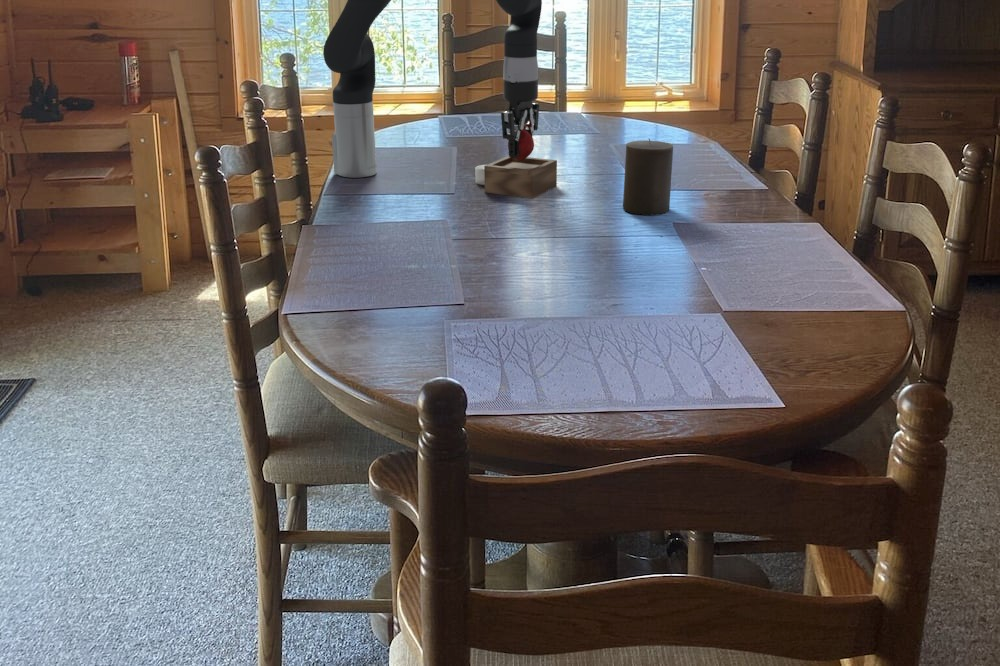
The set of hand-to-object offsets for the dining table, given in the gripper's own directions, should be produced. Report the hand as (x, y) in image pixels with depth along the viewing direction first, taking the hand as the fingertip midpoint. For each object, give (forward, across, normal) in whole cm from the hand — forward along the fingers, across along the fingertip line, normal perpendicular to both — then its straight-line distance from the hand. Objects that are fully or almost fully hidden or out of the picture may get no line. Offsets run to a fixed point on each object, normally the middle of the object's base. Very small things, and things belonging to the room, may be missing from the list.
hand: (520, 154), depth 236 cm
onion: (+2, 0, 0) cm, 2 cm away
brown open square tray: (+8, 0, 0) cm, 8 cm away
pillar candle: (+8, +3, +31) cm, 33 cm away
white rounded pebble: (+8, -3, -10) cm, 13 cm away
